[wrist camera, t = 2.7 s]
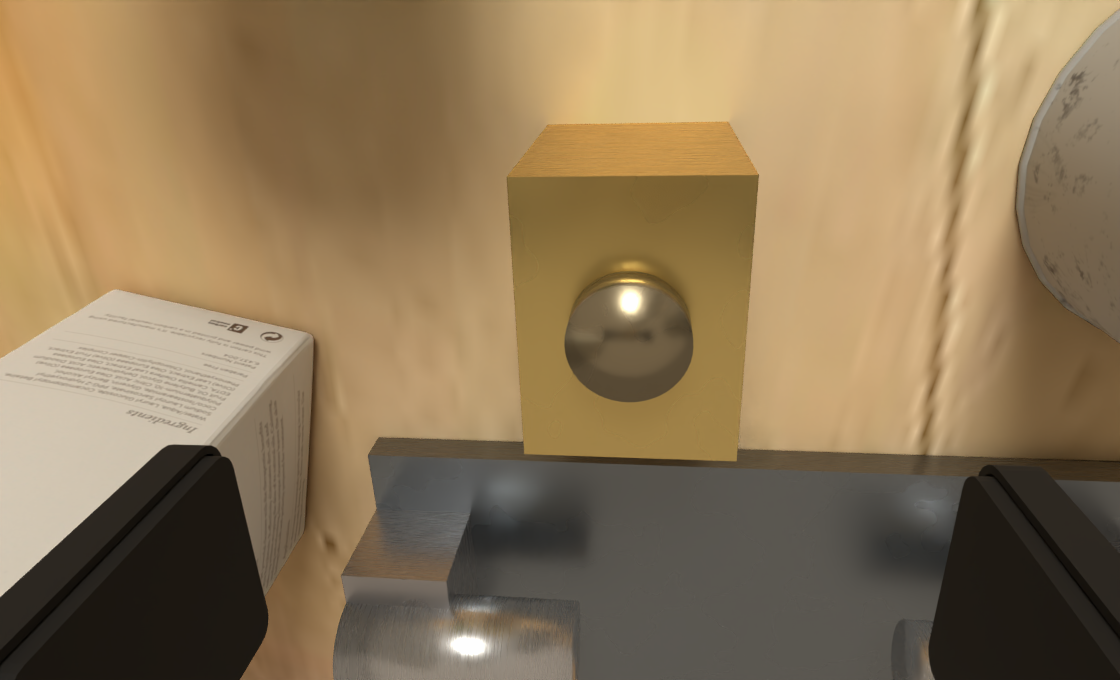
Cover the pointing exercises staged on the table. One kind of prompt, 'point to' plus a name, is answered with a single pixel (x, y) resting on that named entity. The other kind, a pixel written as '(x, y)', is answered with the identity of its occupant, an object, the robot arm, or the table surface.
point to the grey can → (1077, 183)
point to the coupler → (632, 288)
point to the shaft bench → (660, 563)
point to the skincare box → (151, 419)
